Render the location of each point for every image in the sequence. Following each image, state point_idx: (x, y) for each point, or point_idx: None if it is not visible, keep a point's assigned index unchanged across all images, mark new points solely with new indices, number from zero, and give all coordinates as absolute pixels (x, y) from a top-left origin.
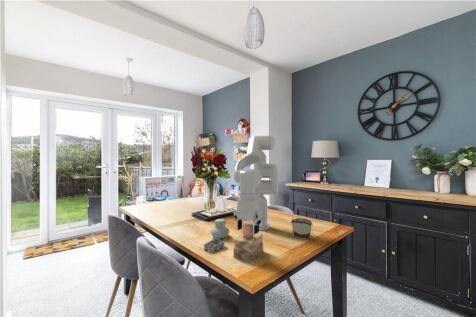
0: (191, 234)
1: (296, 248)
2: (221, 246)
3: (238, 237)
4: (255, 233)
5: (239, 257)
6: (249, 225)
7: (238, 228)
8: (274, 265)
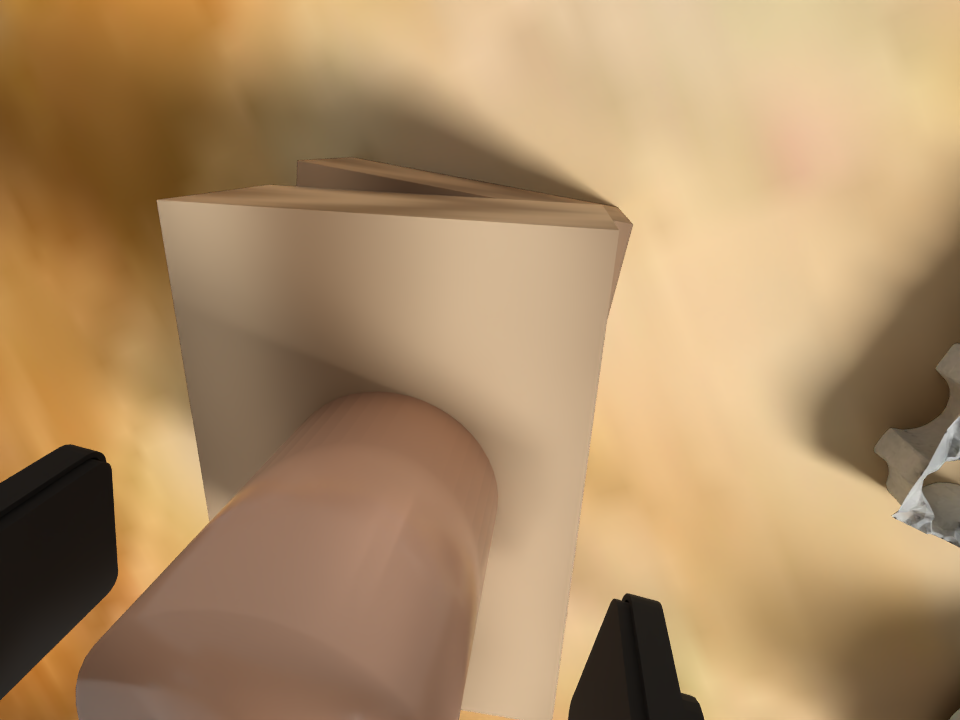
0: None
1: (85, 623)
2: (922, 437)
3: (577, 400)
4: (69, 454)
5: (514, 188)
6: (166, 697)
7: (632, 623)
8: (68, 197)
